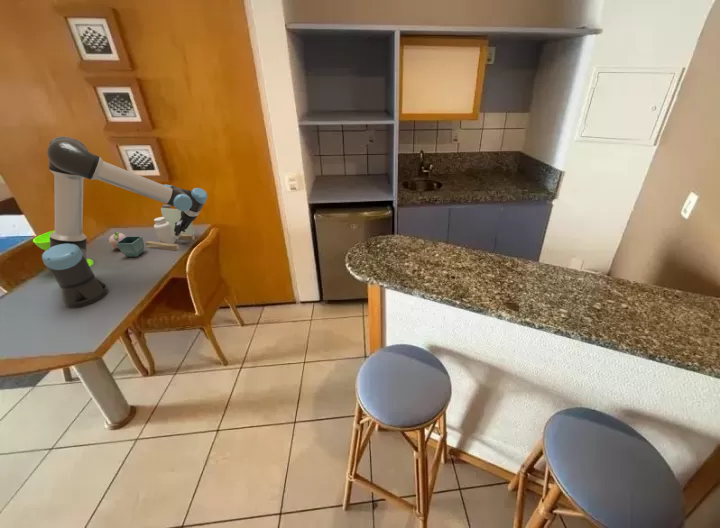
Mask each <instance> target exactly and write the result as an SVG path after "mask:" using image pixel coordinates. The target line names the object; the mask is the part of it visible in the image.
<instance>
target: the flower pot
mask: <svg viewBox="0 0 720 528" xmlns="http://www.w3.org/2000/svg"><path fill="white" fill-rule="evenodd" d="M116 245H117V247H118V248H117V249H119V251H120V252H121V253H122V254H123V255H125V256H127V257H134V258H135V257H140V255H141V254H142V253H143V252H144V250H145V243H144V240H143V236H140V235H139V236H138V235H135V236H131V235H130V236H129V235H126V237H125V238H123V239H122V240H120V241H119V242H117V243H116Z"/></svg>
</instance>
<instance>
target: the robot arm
mask: <svg viewBox="0 0 720 528" xmlns="http://www.w3.org/2000/svg"><path fill="white" fill-rule="evenodd" d="M46 154H47V158H48V170H49V171H50V172H51V173H52V174H53V176H54V180H53V181H54V182H53V183H54V186H53V187H54V230H55V231H54V230H53V231H54V232H53V233H51V234H50V248H49V249H48V250H44V252H43V253H42V254H41V259H42V261H43V264H44V266H45V267H46V268H47V269H48V271H49V272H50V274H51V275H52V277H53V279H54V280H55V281H56V283H57V285H58V286H59V288H60V292H61V300H62V302H63V304H64V306H65V307H66V308H70V309H76V308H83V307H86V306H89V305H92V304H95V303H97V302H98V301H100V300H102V299H104V297H106V296H107V295H108V293H109V289H108V286H107V285H106V284H105V283H104V282H103V281H101V280H100V279H99V278H98V277H96V275H95V274H94V271H93V269H92V268H91V266H89V264H88V262H87V259H88V257H87V252H88V248H87V247H88V246H87V244H88V243H87V242H88V238H87V235H86V234H84V233H83V217H84V216H83V214H84V210H83V209H84V179H88V180H91V181H93V180H98V181H101V182H104V183H107V184H109V185H112V186H115V187H118V188H120V189H124V190H126V191H129V192H132V193H135V194H138V195H140V196H143V197H146V198H147V199H152V200H155V201H157V202H160V203H162V204H164V205H170V207H174V209H178V210H180V211H181V219H180V221H179V222H176V223H175V228H174V232H175V234H174V236H173V237H174V238H176V240H180V239H179V238H180V236H181V234H184V233H183V232H185V229H187V228H188V227H189V225H190V224H191V223H193V222H194V221H195V220H196V219H197V217H198V215H200V211H201V210H202V209H203V207H204V205H205V204H206V203H207V199H208V193H207V192H206V190H204V189H203V188H200V187H195V188H193V189H192V190H190V189H185V188H181V187H177V186H174V185H173V184H170V185H169V184H166V183H165V184H162V183H160V182H157V181H155V180H152V179H149V178H148V177H147V178H146V177H144V176H142V175H139V174H137V173H134V172H132V171H129V170H127V169H124V168H121V167H119V166H117V165H114V164H112V163H110V162H107V161H104V160H103V159H102V157H101V156H100V155H96V154H94V153H93V152H90V151H89V149H88V148H87V147H86V145H85V144H84V143H83V142H81V141H79V140H77V139H75V138H72V137H69V136H59V137H55V138H54V139H52V140H51V141H50V142H49V144H48V147H47V149H46Z"/></svg>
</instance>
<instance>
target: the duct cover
mask: <svg viewBox="0 0 720 528" xmlns="http://www.w3.org/2000/svg"><path fill="white" fill-rule="evenodd" d="M160 212H161V217H164V218H165V220H166V221H167V222H169V223H170V225H171V228H172V231H173V232H174V228H175V223H176V222H179V221H180V219H181V211H180V210H178V209H176V208H171V209H168V208H162V207H161V208H160ZM182 234H191V235H195V230H194V224H193V222H192V223H191V224H190V225H189V227H188V228H187V229H185V232H183V233H182Z"/></svg>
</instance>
